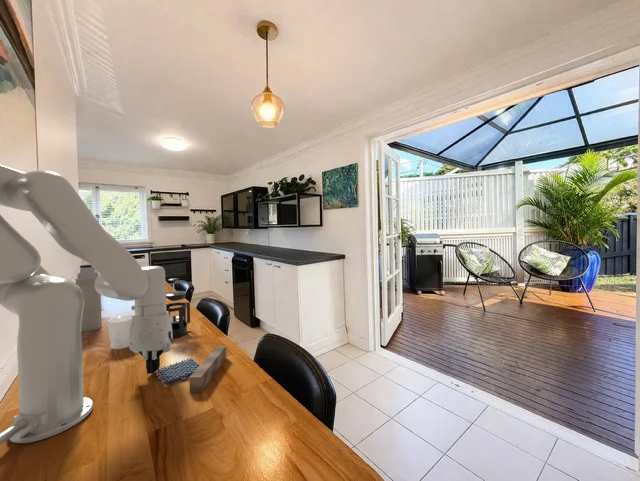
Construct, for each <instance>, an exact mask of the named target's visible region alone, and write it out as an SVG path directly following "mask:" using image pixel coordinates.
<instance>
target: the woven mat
mask: <svg viewBox="0 0 640 481" xmlns="http://www.w3.org/2000/svg"><path fill="white" fill-rule="evenodd" d="M200 365H201V364H199V363H198V362H197V361H195V359H194V358H186V359H185V360H181V361H179V362H175V363H173V364H169V365H167V366H166V365H164V366H163V367H159V368H158V370H157V371H156V372H155V375H156V376H157V379H160V381H161V384H162V386H163V387H164V388H169V387H170V386H173V385H176V384H178V383H180V382H184V381H186V380H189V377H190V376H191V375H192V374H193V373H194V372H195V370H196V369H197V368H198V367H199V366H200Z"/></svg>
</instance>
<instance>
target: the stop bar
mask: <svg viewBox="0 0 640 481" xmlns="http://www.w3.org/2000/svg"><path fill="white" fill-rule="evenodd" d="M226 359H227V346H226V345H216V347H214V349H213V350H212V351H211V352H210V353H209V355H207V357H206V358H205V359H204V360H203V361H202V362H201V364H199V365H200V366H199V367H198V368H197V369H196V370H195V372H194V373H193V374H192V375H191V376H190V377H189V376H188V377H189V379H188V380H189V382H188V383H189V393H190V394H191V393H192V394H194V393H203V391H204V390H205V388H206V387H207V386H208V384H209V383H210V382H211V380H212V379H213V377H214V376H215V375H216V373H217V372H218V370H220V368H221V366H222V365H223V364H224V362H225V361H226ZM224 360H225V361H224Z"/></svg>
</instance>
